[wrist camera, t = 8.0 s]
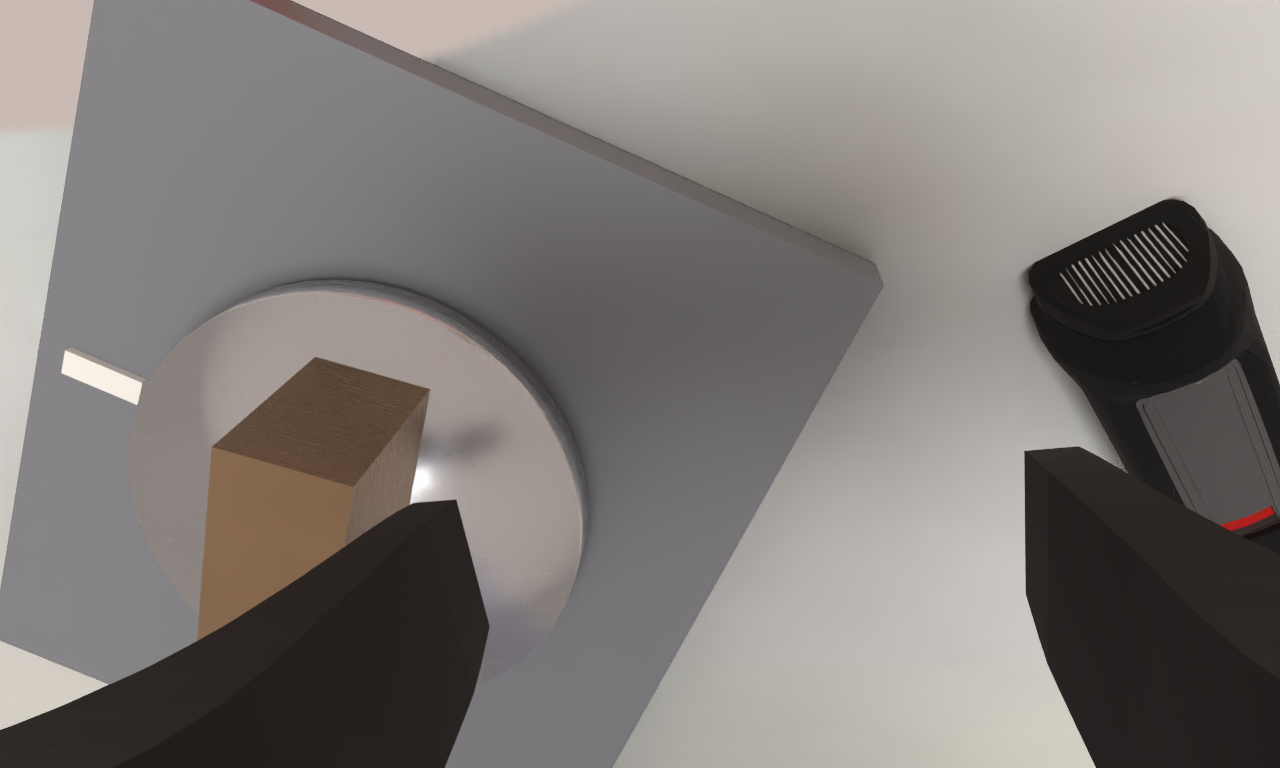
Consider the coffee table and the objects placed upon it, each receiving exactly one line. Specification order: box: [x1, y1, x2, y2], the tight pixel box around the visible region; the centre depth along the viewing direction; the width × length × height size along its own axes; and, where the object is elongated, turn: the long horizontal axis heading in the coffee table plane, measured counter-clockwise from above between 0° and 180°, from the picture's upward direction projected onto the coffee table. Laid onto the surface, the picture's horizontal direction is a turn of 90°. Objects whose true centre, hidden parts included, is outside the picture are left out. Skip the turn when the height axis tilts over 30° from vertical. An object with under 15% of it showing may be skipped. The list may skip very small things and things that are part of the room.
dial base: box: [0, 0, 883, 768], centre depth 23 cm, size 18×16×2 cm
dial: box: [128, 280, 588, 686], centre depth 19 cm, size 10×10×5 cm
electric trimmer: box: [1028, 200, 1280, 555], centre depth 21 cm, size 4×16×3 cm, turn 31°
